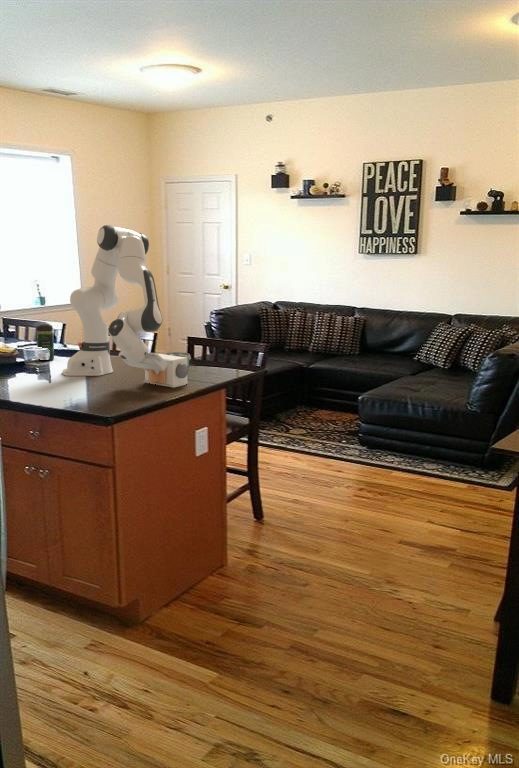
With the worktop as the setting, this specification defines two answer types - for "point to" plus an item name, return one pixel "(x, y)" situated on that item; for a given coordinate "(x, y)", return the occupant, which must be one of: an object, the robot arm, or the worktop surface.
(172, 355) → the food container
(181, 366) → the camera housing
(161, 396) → the worktop surface
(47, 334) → the coffee jar
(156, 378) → the side door
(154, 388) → the worktop surface
